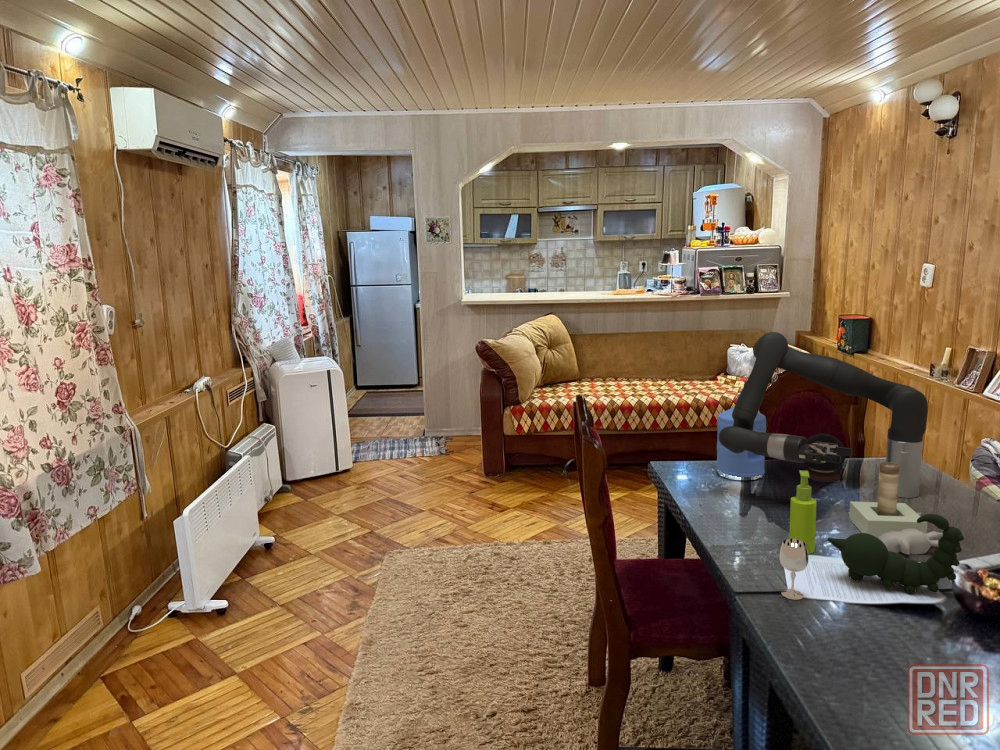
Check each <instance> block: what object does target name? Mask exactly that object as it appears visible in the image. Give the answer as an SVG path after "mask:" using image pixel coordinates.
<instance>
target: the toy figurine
mask: <svg viewBox="0 0 1000 750" xmlns="http://www.w3.org/2000/svg"><path fill="white" fill-rule="evenodd" d="M920 516H921V517H919V518H918V519H917V523H921V522H928V523H929V524H933V526H935V527H936V528H937V529H939V530H942V536H941V537H940V538H939V539H938V540H939V541H938V547H936V548H934V550H933V553H932V556H931V557H929V558H928V559H926V561H920V562H919V561H916V560H914V559H911V558H905V557H903V556H902V555H901V554H900V553H896V552H892V551H888V549H887V547H886V546H885V544H884V543H883V542H882V541H881V540H880V539H879V538H877V537H875V536H873V535H871V534H867V533H862V532H860V533H853V534H851V535H850V536H847V538H834V537H829V538H827V539H826V540H827V542H829V543H830V544H831V545H833V546H834V547H835V548H836V549H837V550H839V552H840V556H841V560H842V561H843V563H844V566H846V568H847V569H848V570H847V571H848V572H847V574H848V578H850V580H851V581H854V582H861V581H863V579H864V577H875V576H877V577H878V578H879V579H880V582H881V586H882V587H884V588H885V589H892V588H894V587H895V584H897V583H898V584H900V585H901V586H903V587H905V588H904V590H905V592H906V593H907V592H908V594H910V593H911V595H912V593H913V594H915V593H916V592H917V588H921V587H922V586H925V587H927V590H928V591H929V592H931V593H938V591H939V590H940V588H939V585H938V584H937V583H939V581H940V580H941V579H944V578H946V579H948V580H950V581H955V580H957V575H956V573H955V570H954V567H958V566H960V561H959V559H958V555H957V554H959V553H961V552H963V549H962V547H961V541H962V542H963V541H964V539H965V537H964V535H963V533H962V531H961V530H960V529H959V528H958V527H956V526H950V523H949V521H948V519H946V518H945V517H943V516H942V515H939V514H936V513H927V514H922V515H920ZM953 566H954V567H953Z"/></svg>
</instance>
